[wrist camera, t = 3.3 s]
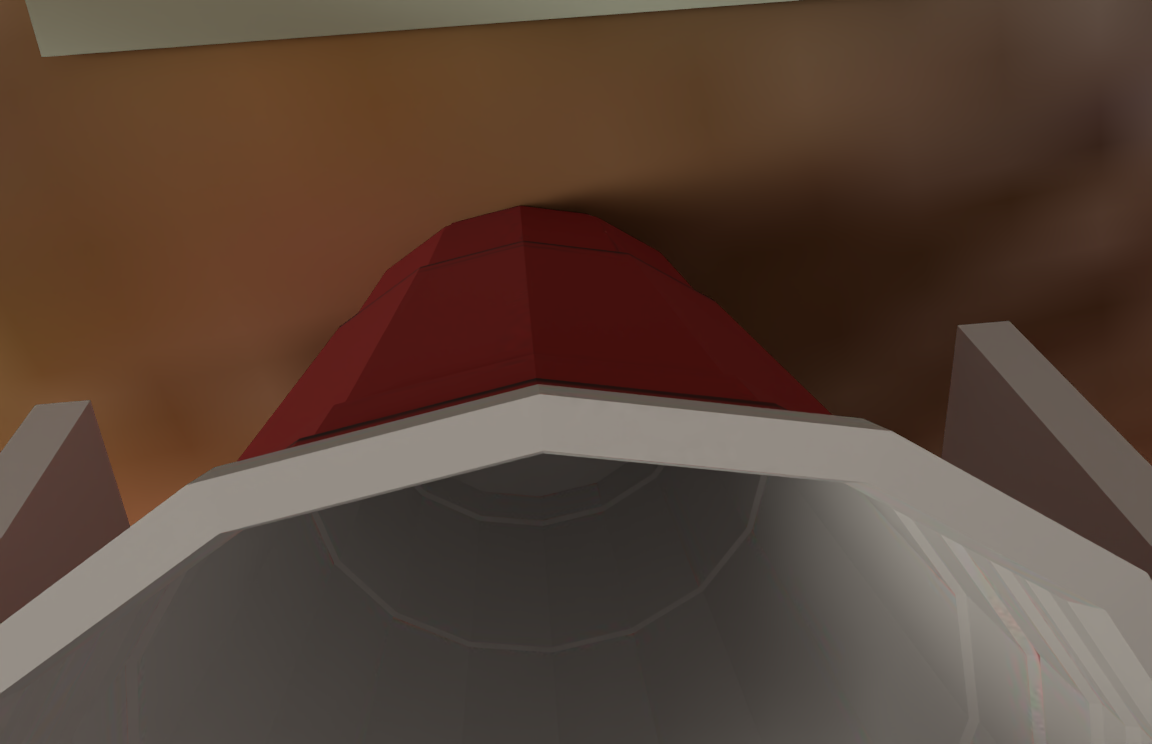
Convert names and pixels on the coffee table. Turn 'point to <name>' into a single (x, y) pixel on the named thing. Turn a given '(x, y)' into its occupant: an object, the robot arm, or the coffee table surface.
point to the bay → (290, 19)
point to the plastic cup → (577, 547)
